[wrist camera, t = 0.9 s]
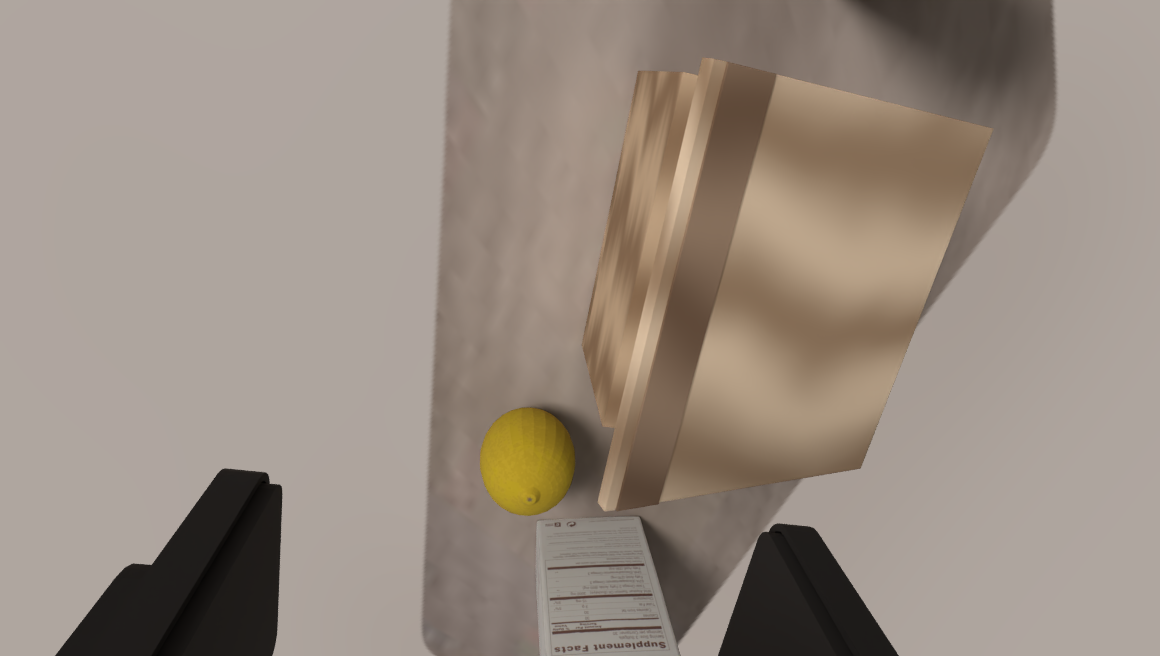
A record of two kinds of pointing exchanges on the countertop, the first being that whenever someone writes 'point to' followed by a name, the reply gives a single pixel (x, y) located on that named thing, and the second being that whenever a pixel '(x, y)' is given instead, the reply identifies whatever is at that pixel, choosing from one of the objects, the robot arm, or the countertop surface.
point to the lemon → (527, 461)
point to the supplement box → (599, 590)
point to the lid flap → (783, 284)
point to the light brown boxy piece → (634, 230)
